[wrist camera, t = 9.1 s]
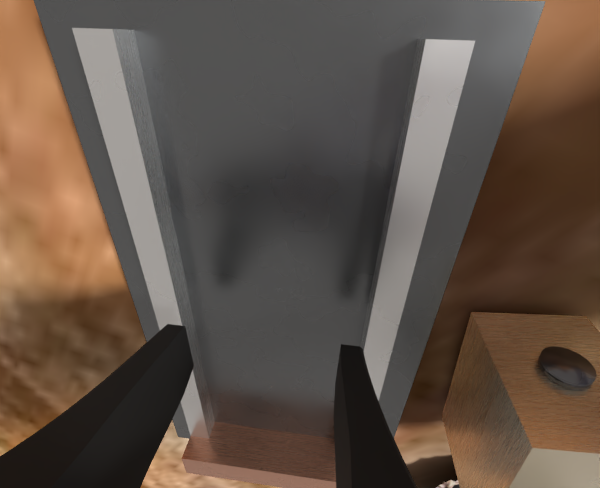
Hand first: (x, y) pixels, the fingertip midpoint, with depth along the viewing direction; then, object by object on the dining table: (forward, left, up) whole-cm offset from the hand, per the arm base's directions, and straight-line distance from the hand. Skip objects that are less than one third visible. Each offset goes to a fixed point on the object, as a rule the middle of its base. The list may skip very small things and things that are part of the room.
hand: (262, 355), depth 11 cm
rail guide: (0, 0, -3) cm, 3 cm away
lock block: (-10, +3, -3) cm, 11 cm away
